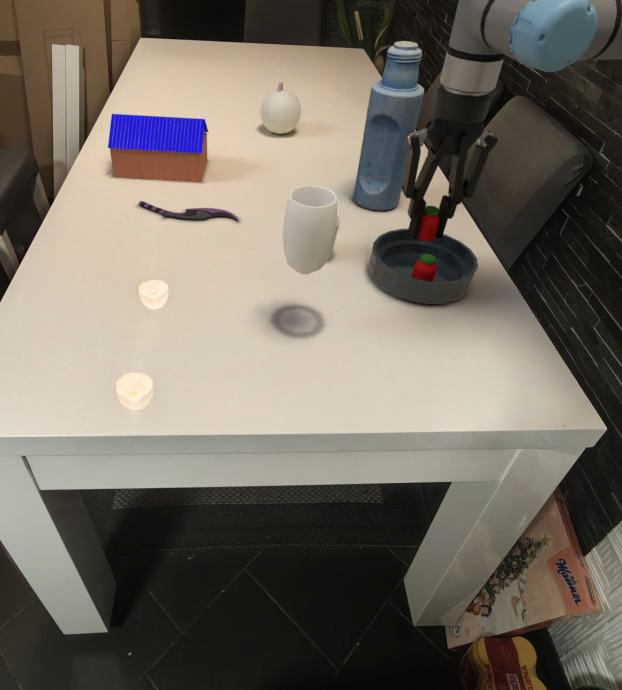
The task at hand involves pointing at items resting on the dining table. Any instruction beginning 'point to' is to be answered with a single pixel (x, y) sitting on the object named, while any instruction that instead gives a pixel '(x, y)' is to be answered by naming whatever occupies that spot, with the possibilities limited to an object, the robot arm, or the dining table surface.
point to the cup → (309, 228)
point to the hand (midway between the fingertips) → (424, 234)
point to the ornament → (280, 111)
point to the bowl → (403, 252)
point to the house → (158, 147)
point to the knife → (191, 212)
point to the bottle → (389, 129)
